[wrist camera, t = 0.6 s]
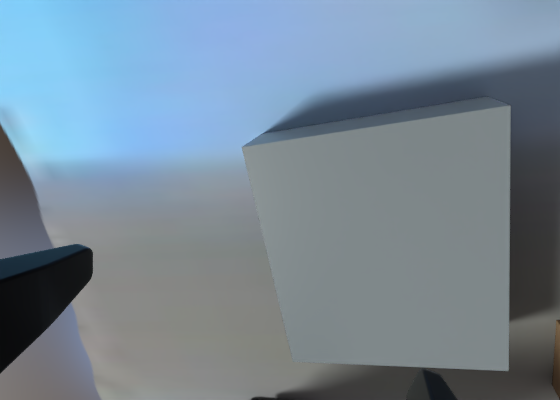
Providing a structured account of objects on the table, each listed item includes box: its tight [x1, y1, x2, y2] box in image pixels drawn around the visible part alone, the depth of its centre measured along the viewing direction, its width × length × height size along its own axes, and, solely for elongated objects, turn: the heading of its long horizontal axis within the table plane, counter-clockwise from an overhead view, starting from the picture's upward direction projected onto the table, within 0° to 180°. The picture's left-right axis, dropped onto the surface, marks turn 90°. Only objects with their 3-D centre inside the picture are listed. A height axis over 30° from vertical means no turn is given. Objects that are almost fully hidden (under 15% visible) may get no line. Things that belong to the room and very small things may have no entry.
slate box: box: [242, 96, 511, 371], centre depth 20 cm, size 14×12×4 cm
